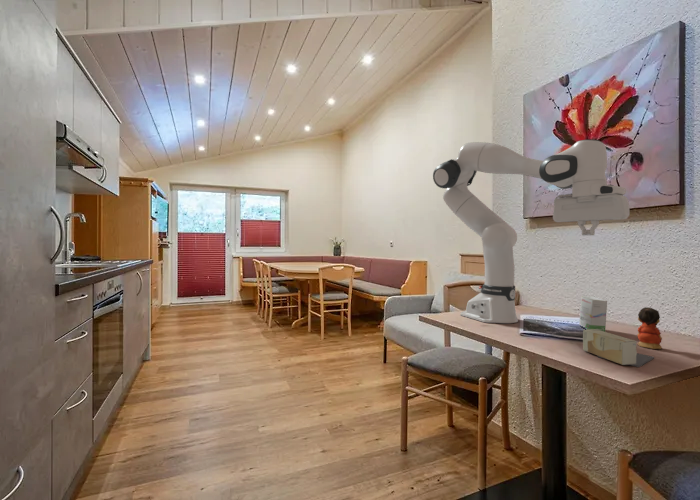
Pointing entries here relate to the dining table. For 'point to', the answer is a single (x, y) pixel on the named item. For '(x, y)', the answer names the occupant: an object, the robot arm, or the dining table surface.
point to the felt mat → (639, 359)
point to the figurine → (649, 329)
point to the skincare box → (610, 346)
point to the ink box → (593, 313)
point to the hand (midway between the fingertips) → (588, 235)
